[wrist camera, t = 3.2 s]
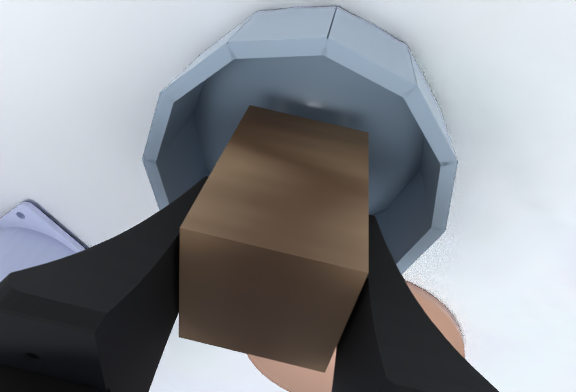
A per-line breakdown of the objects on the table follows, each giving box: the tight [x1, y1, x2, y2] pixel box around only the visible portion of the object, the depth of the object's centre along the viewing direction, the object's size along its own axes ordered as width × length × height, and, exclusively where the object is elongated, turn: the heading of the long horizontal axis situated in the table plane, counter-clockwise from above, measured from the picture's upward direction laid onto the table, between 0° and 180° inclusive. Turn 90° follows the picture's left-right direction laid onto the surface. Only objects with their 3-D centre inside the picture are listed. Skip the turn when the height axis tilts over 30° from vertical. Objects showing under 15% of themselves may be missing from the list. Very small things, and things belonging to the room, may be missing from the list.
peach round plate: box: [247, 281, 465, 392], centre depth 26 cm, size 14×14×1 cm
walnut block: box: [179, 105, 369, 373], centre depth 14 cm, size 4×4×7 cm
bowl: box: [142, 6, 458, 274], centre depth 17 cm, size 11×11×4 cm
